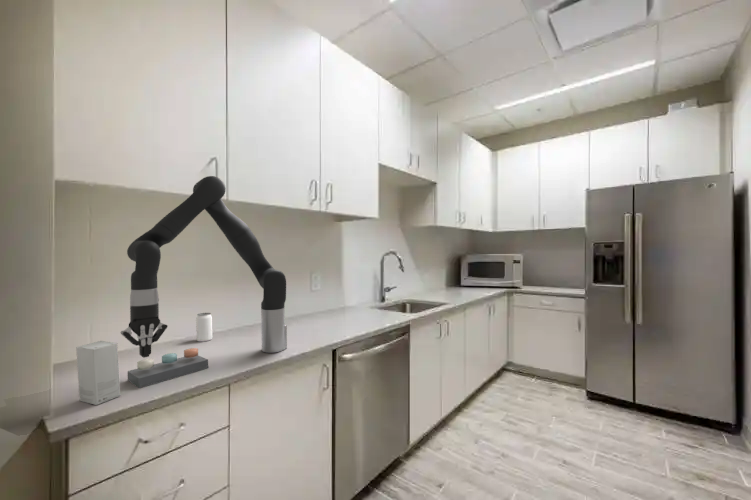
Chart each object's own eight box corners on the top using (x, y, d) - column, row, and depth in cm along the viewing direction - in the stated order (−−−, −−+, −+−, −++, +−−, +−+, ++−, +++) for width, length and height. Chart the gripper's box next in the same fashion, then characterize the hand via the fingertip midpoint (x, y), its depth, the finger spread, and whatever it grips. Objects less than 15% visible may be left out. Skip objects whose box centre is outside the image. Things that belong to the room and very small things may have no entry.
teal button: (173, 358, 117) (173, 352, 117) (179, 360, 115) (179, 354, 115) (159, 361, 114) (159, 355, 114) (165, 364, 111) (165, 358, 111)
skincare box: (120, 396, 97) (119, 342, 97) (94, 406, 91) (92, 349, 91) (103, 391, 101) (102, 339, 100) (76, 401, 95) (75, 345, 94)
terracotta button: (194, 352, 123) (194, 347, 123) (200, 355, 120) (200, 349, 120) (181, 356, 119) (181, 350, 119) (187, 358, 117) (187, 352, 117)
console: (194, 362, 126) (194, 354, 126) (208, 367, 120) (208, 359, 120) (127, 380, 109) (127, 371, 109) (139, 388, 103) (138, 378, 103)
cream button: (150, 363, 112) (150, 357, 112) (156, 366, 109) (156, 360, 109) (135, 367, 108) (135, 361, 108) (140, 370, 106) (140, 364, 106)
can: (195, 342, 151) (194, 315, 151) (198, 338, 157) (197, 313, 157) (210, 341, 153) (210, 314, 153) (213, 337, 159) (213, 312, 159)
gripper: (162, 299, 116) (163, 349, 116) (115, 304, 105) (116, 359, 106) (172, 301, 111) (172, 353, 112) (123, 307, 101) (124, 365, 101)
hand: (145, 356), depth 109 cm, fingers closed
